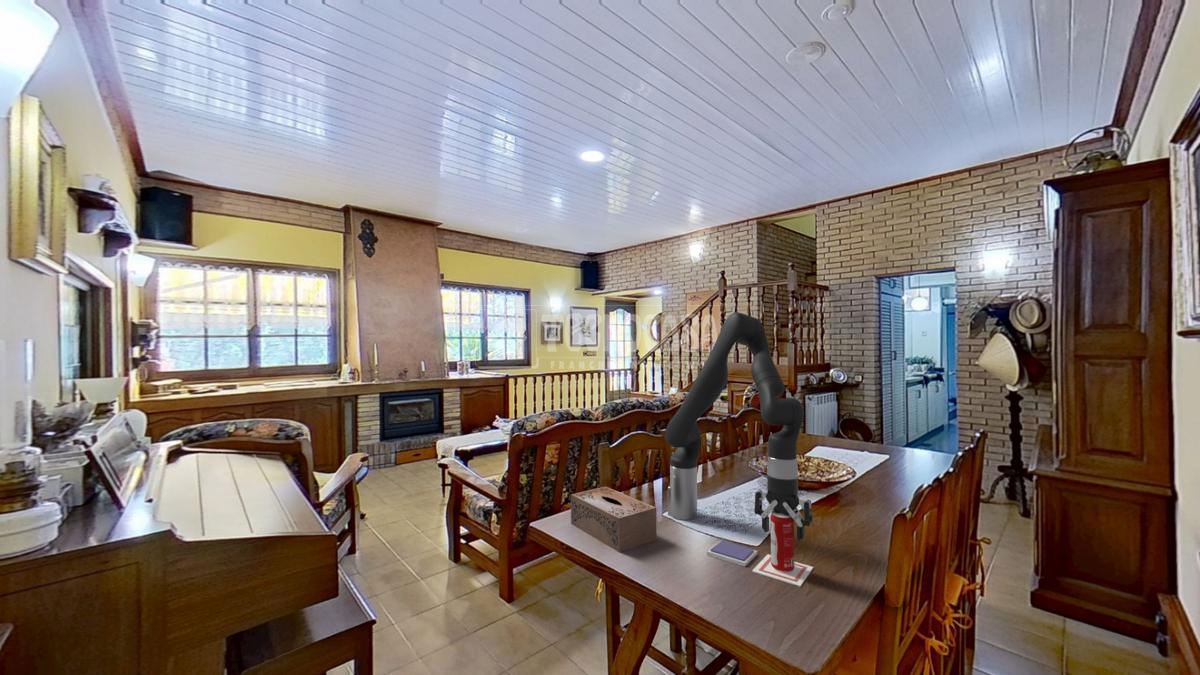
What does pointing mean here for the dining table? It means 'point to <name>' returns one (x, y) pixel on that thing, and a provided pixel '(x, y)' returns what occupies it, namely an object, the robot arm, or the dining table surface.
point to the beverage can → (782, 542)
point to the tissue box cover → (613, 518)
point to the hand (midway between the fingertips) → (782, 535)
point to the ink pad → (732, 553)
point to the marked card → (791, 577)
